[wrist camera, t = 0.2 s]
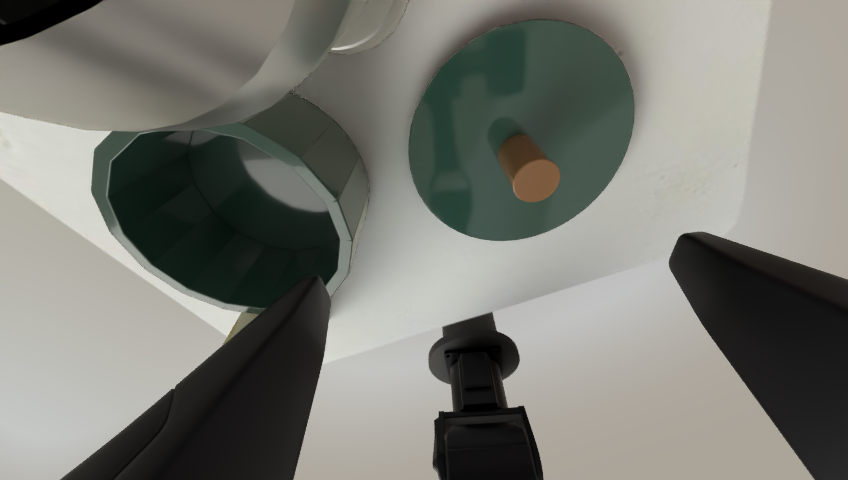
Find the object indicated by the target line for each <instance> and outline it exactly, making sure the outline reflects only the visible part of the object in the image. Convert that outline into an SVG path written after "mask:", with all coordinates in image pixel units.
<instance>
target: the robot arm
mask: <svg viewBox="0 0 848 480" xmlns="http://www.w3.org/2000/svg"><path fill="white" fill-rule="evenodd" d="M669 267H670V270H671V272H672V273H673V275H674V277H675V279H676V280H677V282H678V284H679V285H680V287H681V289H682V291H683V292H684V294H685V296H686V297H687V299H688V301H689V303H690V304H691V306H692V308H693V310H694V311H695V313H696V315H697V316H698V318H699V320H700V321H701V323H702V325H703V326H704V327H705V329H706V330H707V332H708V333H709V335H710V336H711V337H712V339H713V340H714V342H715V343H716V344H717V346H718V347H719V349H720V350H721V351H722V353H723V354H724V355H725V357H726V358H727V359H728V361H729V362H730V364H731V365H732V366H733V368H734V369H735V371H736V372H737V373H738V375H739V376H740V377H741V379H742V380H743V382H744V383H745V384H746V386H747V387H748V388H749V390H750V391H751V393H752V394H753V395H754V397H755V398H756V399H757V401H758V402H759V404H760V405H761V406H762V408H763V409H764V411H765V412H766V413H767V415H768V416H769V417H770V419H771V420H772V422H773V423H774V424H775V426H776V427H777V428H778V430H779V431H780V433H781V434H782V435H783V437H784V438H785V439H786V441H787V442H788V443H789V445H790V446H791V448H792V449H793V450H794V452H795V453H796V455H797V456H798V457H799V459H800V460H801V461H802V463H803V464H804V466H805V467H806V468H807V470H808V471H809V473H810V474H811V475H812V477H813V478H814V479H815V480H848V280H847V279H844V278H841V277H838V276H835V275H832V274H829V273H826V272H823V271H820V270H817V269H814V268H811V267H808V266H805V265H802V264H799V263H796V262H793V261H790V260H787V259H784V258H781V257H778V256H775V255H772V254H769V253H766V252H763V251H760V250H757V249H754V248H751V247H748V246H745V245H742V244H739V243H736V242H733V241H730V240H727V239H724V238H721V237H718V236H715V235H712V234H709V233H706V232H692V233H685V234H682V235H681V236H680V237H679V238H678V240H677V242H676V245H675V247H674V249H673V252H672V254H671V256H670V259H669ZM330 307H331V299H330V296H329V294H328V291H327V289H326V287H325V285H324V283H323V281H322V279H321V278H320V277H319V276H317V275H314V276H305V277H302V278H301V279H300V280H299V281H297V282H296V283H295V284H294V285H293V286H292V287H290V288H289V289H288V290H287V291H286V292H285V293H283V294H282V295H281V296H280V297H279V298H278V299H276V300H275V301H274V302H273V303H272V304H271V305H269V306H268V307H267V308H266V309H265V310H264V311H262V312H261V313H260V314H259V315H258V316H257V317H255V318H254V319H253V320H252V321H251V322H250V323H248V324H247V325H246V326H245V327H244V328H243V329H241V330H240V331H239V332H238V333H237V334H236V335H234V336H233V337H232V338H231V339H230V340H229V341H227V342H226V343H225V344H224V345H223V346H222V347H220V348H219V349H218V350H217V351H216V352H215V353H213V354H212V355H211V356H210V357H209V358H208V359H206V360H205V361H204V362H203V363H202V364H201V365H199V366H198V367H197V368H196V369H195V370H194V371H192V372H191V373H190V374H189V375H188V376H187V377H186V378H184V379H183V380H182V381H181V382H180V383H178V384H177V385H176V387H175V389H171V390H170V391H169V392H168V393H167V394H166V395H164V396H163V397H162V398H161V399H160V400H158V401H157V402H156V403H155V404H154V405H153V406H151V407H150V408H149V409H148V410H147V411H145V412H144V413H143V414H142V415H141V416H139V417H138V418H137V419H136V420H135V421H134V422H132V423H131V424H130V425H129V426H127V427H126V428H125V429H124V430H123V431H121V432H120V433H119V434H118V435H116V436H115V437H114V438H113V439H111V440H110V441H109V442H108V443H106V444H105V445H104V446H102V447H101V448H100V449H99V450H97V451H96V452H95V453H94V454H92V455H91V456H90V457H89V458H87V459H86V460H85V461H83V462H82V463H81V464H80V465H78V466H77V467H76V468H75V469H73V470H72V471H71V472H69V473H68V474H67V475H65V476H64V477H63V478H62V479H60V480H293V479H294V475H295V471H296V466H297V463H298V458H299V455H300V451H301V447H302V443H303V439H304V435H305V431H306V426H307V423H308V419H309V415H310V411H311V406H312V402H313V398H314V394H315V390H316V386H317V382H318V378H319V374H320V370H321V366H322V362H323V357H324V351H325V344H326V337H327V329H328V322H329V314H330ZM444 359H445V364H446V368H447V373H448V378H449V382H450V383H451V388H452V402H453V412H444V411H441V412H440V411H439V417H438V418H437V419H436V420H434V424H435V440H434V452H433V469H434V470H435V471H436V472H437V473H438V476H439V479H440V480H543V471H542V465H541V460H540V456H539V452H538V448H537V445H536V442H535V438H534V435H533V432H532V429H531V426H530V423H529V420H528V417H527V414H526V411H525V408H524V406H518V407H515V408H508V406H507V401H506V397H505V392H504V387H503V383H502V349H501V347H500V346H490V347H479V348H468V349H457V350H447V351H445V352H444Z"/></svg>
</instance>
